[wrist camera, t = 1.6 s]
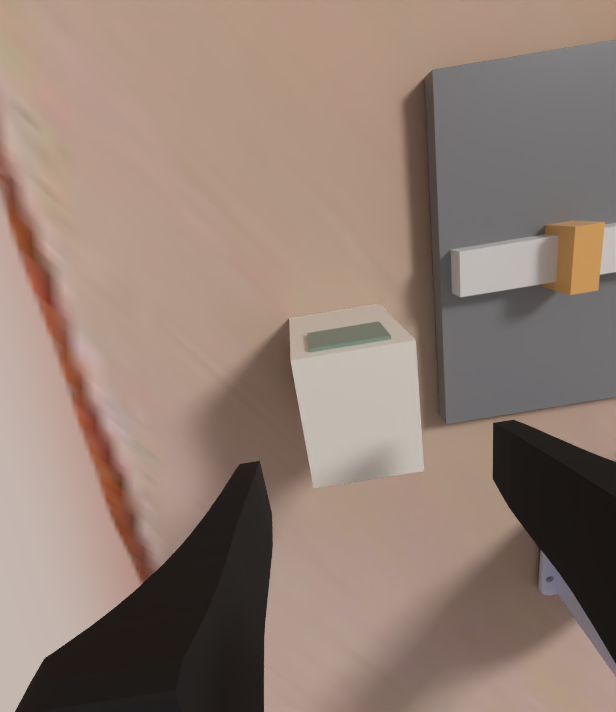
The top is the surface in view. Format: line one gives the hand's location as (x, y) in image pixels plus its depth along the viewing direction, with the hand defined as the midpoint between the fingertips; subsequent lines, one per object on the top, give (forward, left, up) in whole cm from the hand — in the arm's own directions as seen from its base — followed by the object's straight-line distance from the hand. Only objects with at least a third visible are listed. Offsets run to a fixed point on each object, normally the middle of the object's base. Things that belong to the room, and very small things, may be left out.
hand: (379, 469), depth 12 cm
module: (0, 0, -9) cm, 9 cm away
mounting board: (+4, -16, -9) cm, 19 cm away
